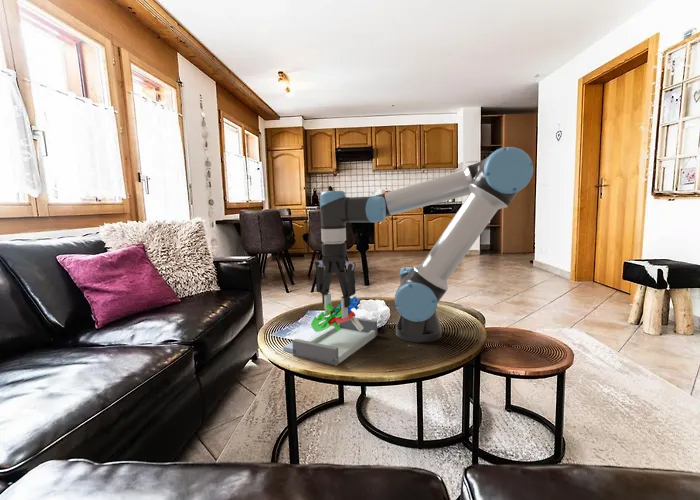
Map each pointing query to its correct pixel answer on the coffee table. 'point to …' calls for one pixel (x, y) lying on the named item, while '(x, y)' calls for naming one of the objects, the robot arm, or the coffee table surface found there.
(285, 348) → the wing blank
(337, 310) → the toy
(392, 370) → the coffee table surface
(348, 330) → the tray
